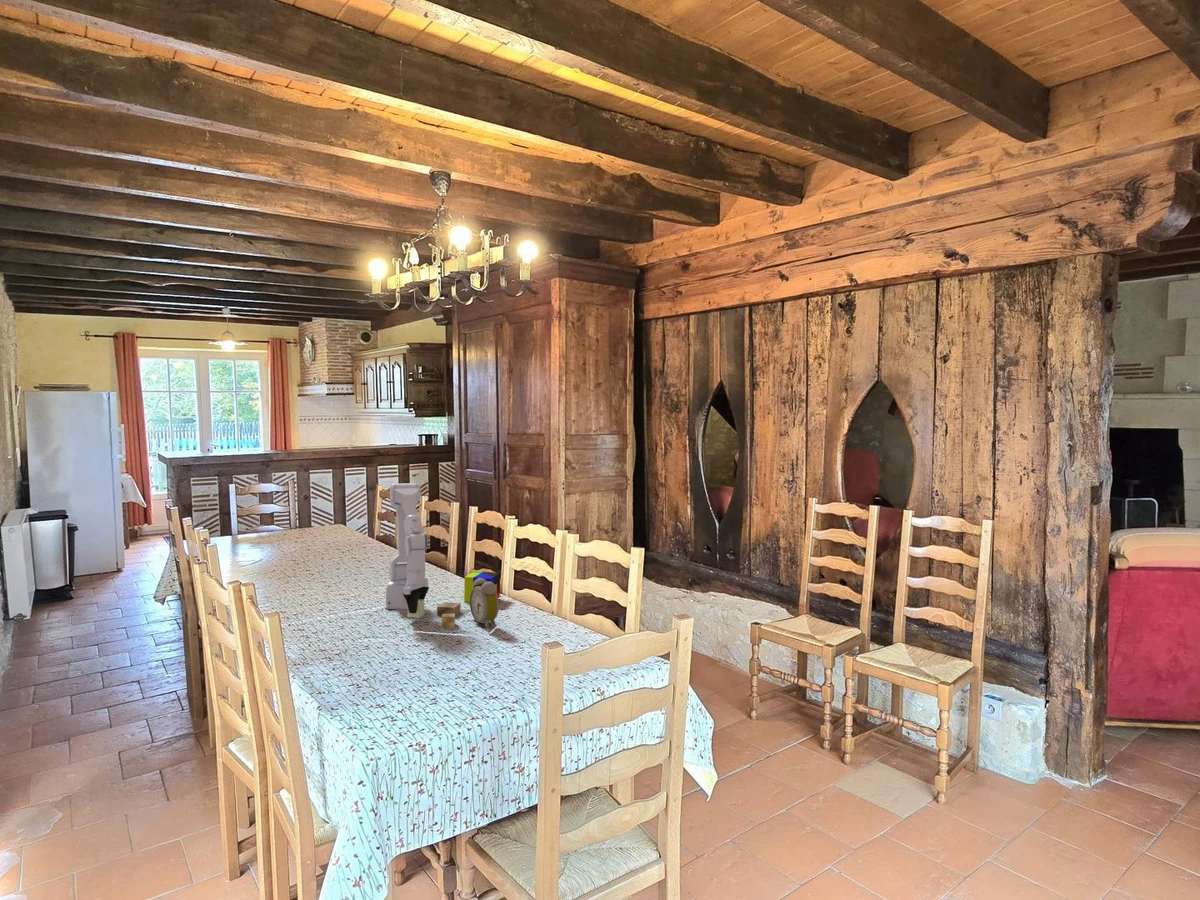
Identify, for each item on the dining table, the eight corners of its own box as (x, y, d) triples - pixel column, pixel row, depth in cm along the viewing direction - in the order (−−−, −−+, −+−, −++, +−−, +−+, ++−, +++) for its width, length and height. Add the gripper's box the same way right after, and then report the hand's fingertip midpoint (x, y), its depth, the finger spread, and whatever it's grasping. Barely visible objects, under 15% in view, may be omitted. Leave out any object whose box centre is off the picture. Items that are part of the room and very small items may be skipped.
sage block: (407, 616, 230) (407, 601, 230) (412, 613, 234) (412, 598, 234) (418, 617, 230) (419, 602, 229) (424, 614, 233) (424, 599, 233)
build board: (424, 618, 237) (424, 617, 237) (439, 609, 248) (439, 607, 248) (459, 621, 235) (459, 619, 235) (471, 611, 246) (471, 610, 246)
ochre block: (441, 629, 226) (441, 617, 225) (442, 626, 229) (442, 613, 229) (454, 629, 226) (454, 616, 226) (454, 625, 230) (454, 613, 230)
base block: (437, 615, 239) (437, 606, 239) (443, 610, 245) (443, 602, 245) (453, 616, 238) (454, 607, 238) (460, 611, 244) (460, 603, 244)
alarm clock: (468, 622, 234) (469, 577, 233) (487, 619, 238) (488, 575, 237) (484, 631, 224) (485, 584, 224) (503, 628, 228) (504, 582, 227)
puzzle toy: (490, 606, 254) (490, 578, 254) (464, 604, 256) (464, 576, 256) (499, 599, 264) (500, 572, 264) (474, 597, 266) (474, 571, 266)
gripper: (418, 575, 223) (417, 618, 224) (436, 565, 238) (436, 605, 238) (397, 574, 224) (397, 616, 225) (416, 564, 239) (416, 604, 239)
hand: (415, 610), depth 232 cm, fingers closed on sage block, 4 cm apart
